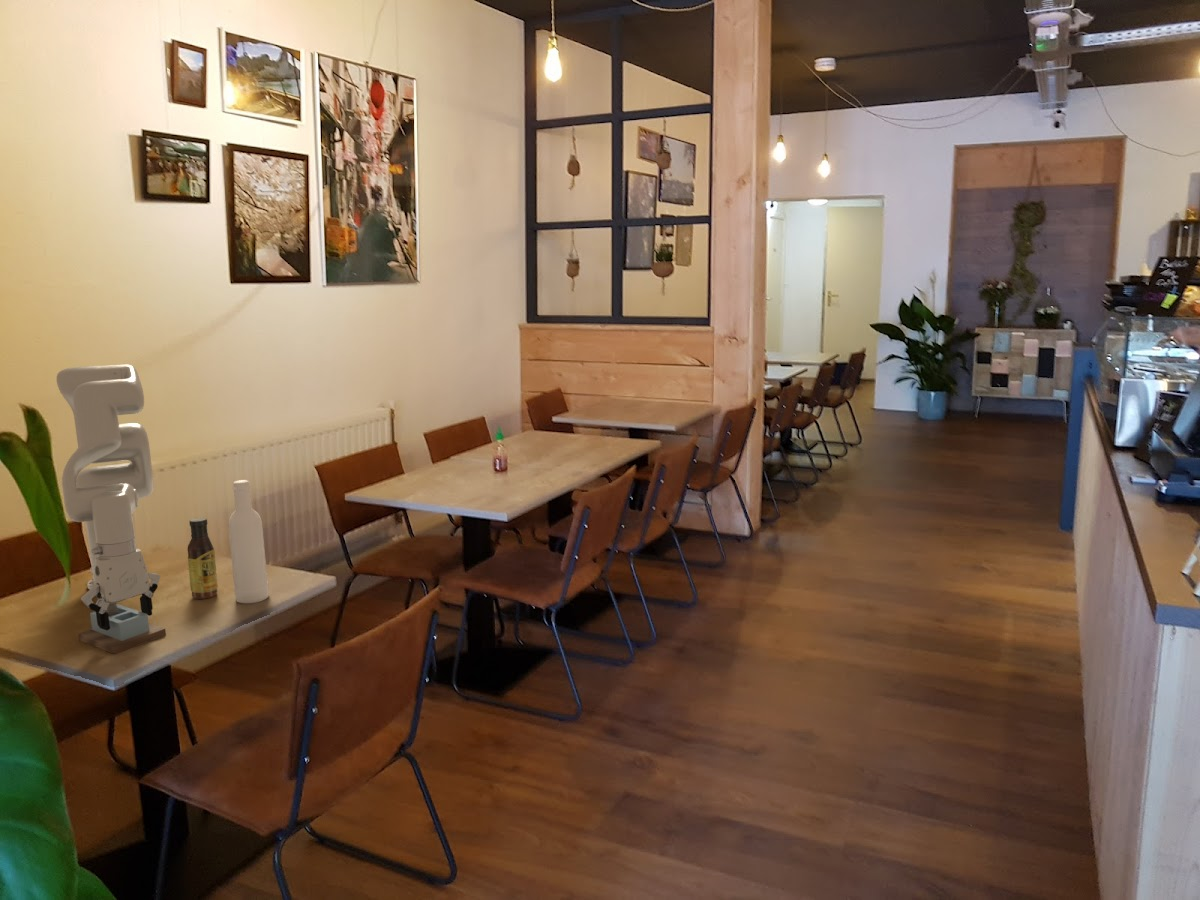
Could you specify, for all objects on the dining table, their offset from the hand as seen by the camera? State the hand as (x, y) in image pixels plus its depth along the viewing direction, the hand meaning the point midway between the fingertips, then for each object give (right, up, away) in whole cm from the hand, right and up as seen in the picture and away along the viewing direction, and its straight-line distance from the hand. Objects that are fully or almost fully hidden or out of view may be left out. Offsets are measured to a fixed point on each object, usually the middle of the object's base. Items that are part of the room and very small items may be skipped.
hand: (126, 621), depth 203 cm
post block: (-2, -4, +2) cm, 5 cm away
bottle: (+18, +1, +25) cm, 31 cm away
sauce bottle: (+6, +1, +28) cm, 28 cm away
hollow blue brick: (-2, -2, +2) cm, 4 cm away
